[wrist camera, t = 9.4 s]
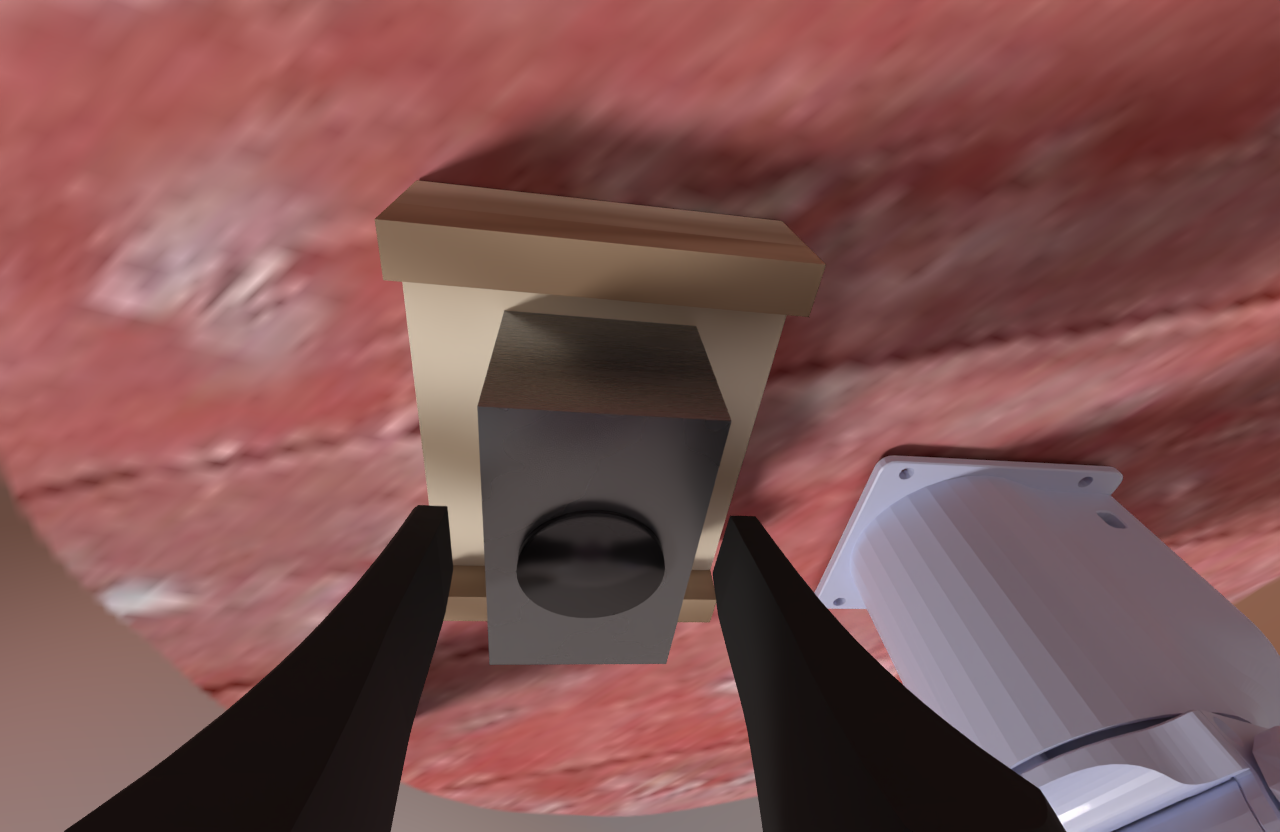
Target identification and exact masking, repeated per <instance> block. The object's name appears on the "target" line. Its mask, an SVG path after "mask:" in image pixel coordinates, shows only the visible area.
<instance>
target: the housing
mask: <svg viewBox="0 0 1280 832" xmlns="http://www.w3.org/2000/svg"><path fill="white" fill-rule="evenodd" d="M477 411H478V432H479V453H480V474H481V495H482V516H483V537H484V558H485V579H486V600H487V621H488V642H489V663H490V665H531V664H666V662H667V659H668V655H669V651H670V647H671V644H672V640H673V636H674V633H675V629H676V625H677V622H678V618H679V614H680V610H681V607H682V603H683V599H684V596H685V592H686V588H687V584H688V581H689V577H690V573H691V570H692V566H693V562H694V559H695V555H696V551H697V547H698V544H699V540H700V536H701V533H702V529H703V525H704V522H705V518H706V514H707V510H708V507H709V503H710V499H711V496H712V492H713V488H714V485H715V481H716V477H717V473H718V470H719V466H720V462H721V459H722V455H723V451H724V448H725V444H726V440H727V436H728V433H729V429H730V425H731V422H732V421H731V418H730V415H729V413H728V410H727V407H726V404H725V402H724V399H723V396H722V394H721V391H720V388H719V386H718V383H717V380H716V378H715V375H714V372H713V370H712V367H711V364H710V361H709V359H708V356H707V353H706V351H705V348H704V345H703V343H702V340H701V337H700V335H699V332H698V329H697V326H689V325H677V324H665V323H652V322H640V321H628V320H616V319H603V318H591V317H579V316H567V315H554V314H542V313H530V312H517V311H505V310H504V313H503V317H502V320H501V324H500V328H499V331H498V335H497V338H496V342H495V345H494V349H493V352H492V356H491V359H490V363H489V367H488V370H487V374H486V377H485V381H484V384H483V388H482V391H481V395H480V399H479V402H478V406H477Z"/></svg>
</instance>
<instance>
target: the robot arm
mask: <svg viewBox="0 0 1280 832" xmlns="http://www.w3.org/2000/svg"><path fill="white" fill-rule="evenodd" d="M906 468H907V469H906ZM904 469H906V470H904ZM902 470H904V471H902ZM901 471H902V472H901ZM1122 480H1123V475H1122V474H1121V473H1120V472H1119V471H1118V470H1117V469H1116V468H1114V467H1111V466H1093V465H1073V464H1053V463H1034V462H1014V461H995V460H975V459H956V458H936V457H917V456H897V455H893V456H887V457H884V458H882V459H881V460H880V461H878V463H877V464H876V465H875V467H874V469H873V472H872V474H871V476H870V478H869V480H868V482H867V484H866V486H865V488H864V490H863V492H862V495H861V497H860V499H859V501H858V503H857V505H856V507H855V509H854V511H853V513H852V516H851V518H850V520H849V522H848V524H847V526H846V528H845V530H844V532H843V534H842V536H841V539H840V541H839V543H838V545H837V547H836V549H835V551H834V553H833V555H832V557H831V560H830V562H829V564H828V566H827V568H826V570H825V572H824V574H823V576H822V578H821V580H820V583H819V585H818V587H817V589H816V591H815V593H814V592H813V591H812V590H811V588H810V587H809V586H808V585H807V583H806V582H805V581H804V580H803V578H802V577H801V576H800V575H799V573H798V572H797V571H796V570H795V568H794V567H793V566H792V564H791V563H790V562H789V560H788V559H787V558H786V557H785V555H784V554H783V553H782V551H781V550H780V549H779V547H778V546H777V545H776V543H775V542H774V541H773V539H772V538H771V536H770V535H769V534H768V532H767V531H766V530H765V528H764V527H763V526H762V524H761V523H760V522H759V520H758V519H757V518H756V517H755V516H730V518H729V521H728V525H727V528H726V531H725V534H724V538H723V541H722V544H721V547H720V551H719V554H718V557H717V561H716V564H715V567H714V570H713V581H714V589H715V597H716V603H717V610H718V616H719V620H720V624H721V628H722V632H723V636H724V640H725V644H726V648H727V652H728V655H729V659H730V663H731V667H732V670H733V674H734V678H735V682H736V686H737V689H738V693H739V697H740V701H741V704H742V708H743V713H744V717H745V722H746V726H747V731H748V737H749V743H750V749H751V755H752V761H753V767H754V773H755V780H756V786H757V793H758V800H759V807H760V813H761V820H762V828H763V832H1280V656H1279V655H1278V653H1277V652H1276V650H1275V648H1274V647H1273V645H1272V644H1271V643H1270V641H1269V640H1268V639H1267V638H1266V637H1265V635H1264V634H1263V633H1262V632H1261V631H1260V630H1259V629H1258V628H1257V626H1256V625H1255V624H1253V623H1252V621H1250V620H1249V619H1248V618H1247V617H1246V616H1245V615H1244V614H1243V613H1242V612H1241V611H1239V610H1238V609H1237V608H1236V607H1235V606H1234V605H1233V604H1232V603H1230V602H1229V601H1228V600H1227V599H1226V598H1225V597H1224V596H1223V595H1222V594H1220V593H1219V592H1218V591H1217V590H1216V589H1215V588H1214V587H1213V586H1211V585H1210V584H1209V583H1208V582H1207V581H1206V580H1205V579H1204V578H1203V577H1201V576H1200V575H1199V574H1198V573H1197V572H1196V571H1195V570H1194V569H1192V568H1191V567H1190V566H1189V565H1188V564H1187V563H1186V562H1185V561H1183V560H1182V559H1181V558H1180V557H1179V556H1178V555H1177V554H1176V553H1175V552H1173V551H1172V550H1171V549H1170V548H1169V547H1168V546H1167V545H1166V544H1164V543H1163V542H1162V541H1161V540H1160V539H1159V538H1158V537H1157V536H1156V535H1154V534H1153V533H1152V532H1151V531H1150V530H1149V529H1148V528H1147V527H1145V526H1144V525H1143V524H1142V523H1141V522H1140V521H1139V520H1138V519H1136V518H1135V517H1134V516H1133V515H1132V514H1131V513H1130V512H1129V511H1128V510H1126V509H1125V508H1124V507H1123V506H1122V505H1121V504H1120V503H1119V502H1117V501H1116V500H1115V499H1114V498H1113V497H1112V496H1111V494H1112V493H1113V492H1114V491H1115V490H1116V488H1117V487H1118V486H1119V485H1120V483H1121V482H1122ZM452 574H453V559H452V549H451V538H450V528H449V517H448V507H447V506H427V505H418V506H417V507H415V508H414V509H413V510H412V512H411V513H410V515H409V516H408V518H407V519H406V520H405V522H404V523H403V525H402V526H401V527H400V529H399V530H398V532H397V533H396V534H395V536H394V537H393V538H392V540H391V541H390V542H389V544H388V545H387V546H386V548H385V549H384V550H383V551H382V553H381V554H380V555H379V557H378V558H377V559H376V560H375V561H374V563H373V564H372V565H371V566H370V568H369V569H368V570H367V571H366V572H365V574H364V575H363V576H362V577H361V579H360V580H359V581H358V582H357V583H356V585H355V586H354V587H353V588H352V589H351V590H350V592H349V593H348V594H347V595H346V596H345V597H344V598H343V599H342V600H341V601H340V603H339V604H338V605H337V606H336V607H335V608H334V609H333V610H332V611H331V612H330V614H329V615H328V616H327V617H326V618H325V619H324V620H323V621H322V622H321V623H320V624H319V625H318V626H317V627H316V628H315V630H314V631H313V632H312V633H311V634H310V635H309V636H308V637H307V638H306V639H305V640H304V641H303V642H302V643H301V644H300V645H299V646H298V647H297V648H296V649H295V650H293V651H292V652H291V653H290V654H289V655H288V656H287V657H286V658H285V659H284V660H283V661H282V662H281V663H280V664H279V665H278V666H277V667H276V668H274V669H273V670H272V671H271V672H270V673H269V674H268V675H267V676H266V677H264V678H263V679H262V680H261V681H260V682H259V683H258V684H257V685H255V686H254V687H253V688H252V689H251V690H250V691H249V692H248V693H246V694H245V695H244V696H243V697H242V698H241V699H240V700H238V701H237V702H236V703H235V704H234V705H232V706H231V707H230V708H229V709H228V710H227V711H225V712H224V713H223V714H222V715H221V716H219V717H218V718H217V719H216V720H214V721H213V722H212V723H211V724H209V725H208V726H207V727H205V728H204V729H203V730H202V731H200V732H199V733H198V734H196V735H195V736H194V737H193V738H192V739H190V740H189V741H188V742H186V743H185V744H184V745H182V746H181V747H180V748H179V749H178V750H176V751H175V752H174V753H172V754H171V755H170V756H169V757H167V758H166V759H165V760H163V761H162V762H161V763H159V764H158V765H157V766H155V767H154V768H153V769H151V770H150V771H149V772H147V773H146V774H145V775H143V776H142V777H140V778H139V779H137V780H136V781H135V782H133V783H132V784H130V785H129V786H127V787H126V788H125V789H123V790H122V791H120V792H119V793H118V794H116V795H115V796H113V797H112V798H111V799H109V800H108V801H106V802H105V803H103V804H102V805H101V806H99V807H98V808H97V809H95V810H94V811H92V812H91V813H89V814H88V815H87V816H85V817H84V818H82V819H81V820H79V821H78V822H77V823H75V824H74V825H72V826H71V827H69V828H68V829H66V830H65V831H64V832H390V831H391V827H392V821H393V816H394V811H395V806H396V801H397V796H398V790H399V785H400V780H401V775H402V771H403V766H404V761H405V756H406V751H407V746H408V741H409V737H410V733H411V729H412V725H413V721H414V717H415V713H416V710H417V707H418V704H419V700H420V697H421V694H422V690H423V687H424V684H425V680H426V677H427V674H428V670H429V667H430V664H431V660H432V657H433V654H434V650H435V647H436V644H437V640H438V637H439V634H440V630H441V627H442V623H443V620H444V616H445V613H446V607H447V602H448V597H449V591H450V586H451V580H452ZM827 608H832V609H867V610H868V612H869V614H870V616H871V618H872V620H873V623H874V625H875V627H876V629H877V631H878V633H879V635H880V637H881V639H882V641H883V643H884V645H885V647H886V649H887V651H888V654H889V656H890V658H891V660H892V662H893V664H894V666H895V668H896V670H897V672H898V674H899V676H900V678H901V680H902V683H903V685H902V684H901V683H900V682H899V681H898V680H897V679H896V678H895V677H894V676H892V675H891V674H890V673H889V672H888V671H887V670H886V669H885V668H884V667H883V666H882V665H881V664H880V663H879V662H878V661H877V660H876V659H875V658H874V657H873V656H871V655H870V654H869V653H868V652H867V651H866V650H865V649H864V648H863V647H862V646H861V645H860V644H859V643H858V642H857V641H856V640H855V639H854V638H853V636H852V635H851V634H850V633H849V632H848V631H847V630H846V629H845V628H844V627H843V626H842V625H841V623H840V622H839V621H838V620H837V619H836V618H835V617H834V616H833V614H832V613H831V612H830V611H829V610H828V609H827Z"/></svg>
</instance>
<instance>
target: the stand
mask: <svg viewBox="0 0 1280 832" xmlns="http://www.w3.org/2000/svg"><path fill="white" fill-rule="evenodd" d="M375 225H376V232H377V239H378V246H379V253H380V260H381V267H382V274H383V280H388V281H400V282H402V283H403V292H404V300H405V308H406V316H407V325H408V333H409V341H410V350H411V358H412V366H413V375H414V383H415V391H416V399H417V408H418V416H419V424H420V433H421V441H422V449H423V457H424V466H425V474H426V482H427V491H428V499H429V506H447V507H448V517H449V528H450V538H451V549H452V559H453V574H452V580H451V586H450V591H449V597H448V602H447V607H446V613H445V616H444V620H443V621H487V600H486V579H485V558H484V537H483V516H482V495H481V474H480V453H479V432H478V411H477V406H478V402H479V399H480V395H481V391H482V388H483V384H484V381H485V377H486V374H487V370H488V367H489V363H490V359H491V356H492V352H493V349H494V345H495V342H496V338H497V335H498V331H499V328H500V324H501V320H502V317H503V313H504V310H505V311H517V312H530V313H542V314H554V315H567V316H579V317H591V318H603V319H616V320H628V321H640V322H652V323H665V324H677V325H689V326H697V329H698V332H699V335H700V337H701V340H702V343H703V345H704V348H705V351H706V353H707V356H708V359H709V361H710V364H711V367H712V370H713V372H714V375H715V378H716V380H717V383H718V386H719V388H720V391H721V394H722V396H723V399H724V402H725V404H726V407H727V410H728V413H729V415H730V418H731V421H732V422H731V425H730V429H729V433H728V436H727V440H726V444H725V448H724V451H723V455H722V459H721V462H720V466H719V470H718V473H717V477H716V481H715V485H714V488H713V492H712V496H711V499H710V503H709V507H708V510H707V514H706V518H705V522H704V525H703V529H702V533H701V536H700V540H699V544H698V547H697V551H696V555H695V559H694V562H693V566H692V570H691V573H690V577H689V581H688V584H687V588H686V592H685V596H684V599H683V603H682V607H681V610H680V614H679V618H678V622H710V620H711V617H712V614H713V611H714V607H715V604H716V597H715V589H714V585H713V580H712V576H711V572H710V569H711V566H712V562H713V559H714V556H715V552H716V549H717V546H718V542H719V539H720V536H721V532H722V529H723V526H724V522H725V519H726V516H727V512H728V509H729V506H730V502H731V499H732V496H733V492H734V489H735V486H736V482H737V479H738V476H739V472H740V469H741V466H742V462H743V459H744V456H745V452H746V449H747V446H748V442H749V439H750V436H751V432H752V429H753V426H754V422H755V419H756V416H757V412H758V409H759V406H760V402H761V399H762V396H763V392H764V389H765V386H766V382H767V379H768V376H769V372H770V369H771V366H772V362H773V359H774V356H775V352H776V349H777V346H778V342H779V339H780V336H781V332H782V329H783V326H784V322H785V319H786V316H787V315H791V316H803V317H809V315H810V312H811V309H812V306H813V303H814V300H815V297H816V294H817V291H818V288H819V285H820V281H821V278H822V275H823V272H824V269H825V266H826V264H825V263H824V262H823V261H822V260H821V259H820V258H819V257H818V256H817V255H816V254H815V253H814V252H813V251H812V250H811V249H810V248H809V247H808V246H807V245H806V244H805V243H804V242H803V241H802V240H801V239H800V238H798V237H797V236H796V235H795V234H794V233H793V232H792V231H791V230H790V229H789V228H788V227H787V226H786V225H785V224H784V223H783V222H782V221H777V220H768V219H759V218H750V217H741V216H732V215H723V214H715V213H706V212H697V211H688V210H679V209H670V208H661V207H652V206H643V205H634V204H625V203H616V202H607V201H598V200H589V199H580V198H571V197H562V196H553V195H544V194H535V193H526V192H517V191H508V190H499V189H490V188H481V187H472V186H463V185H454V184H445V183H436V182H427V181H419V180H417V181H415V182H414V183H413V184H412V185H411V186H410V187H409V188H408V189H407V190H406V191H405V192H404V193H402V194H401V195H400V196H399V197H398V198H397V199H396V200H395V201H394V202H393V203H392V204H391V205H389V206H388V207H387V208H386V209H385V210H384V211H383V212H382V213H381V214H380V215H379V216H378V217H376V218H375Z"/></svg>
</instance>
